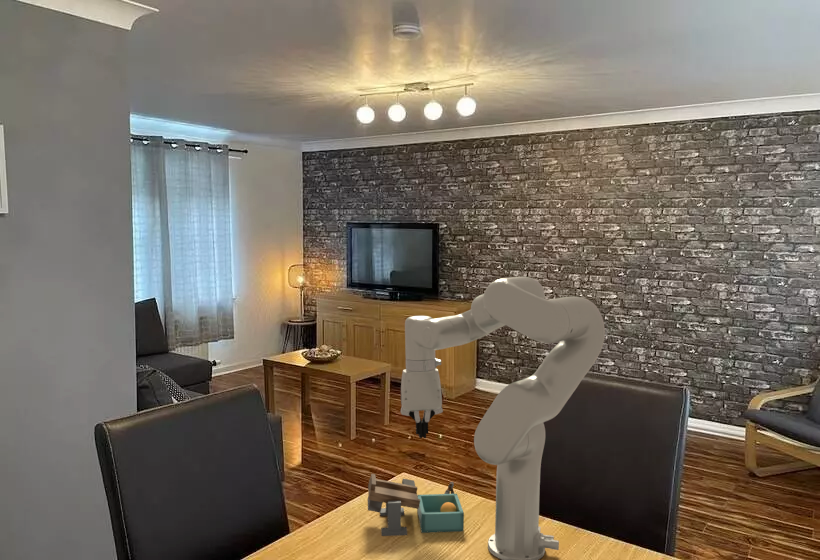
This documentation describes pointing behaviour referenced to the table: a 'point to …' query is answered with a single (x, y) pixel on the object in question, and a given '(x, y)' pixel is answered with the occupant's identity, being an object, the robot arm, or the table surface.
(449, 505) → the ball
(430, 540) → the table surface
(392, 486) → the lever
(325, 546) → the table surface
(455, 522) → the teal open box
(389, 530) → the lever stand
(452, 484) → the wooden post with brackets
